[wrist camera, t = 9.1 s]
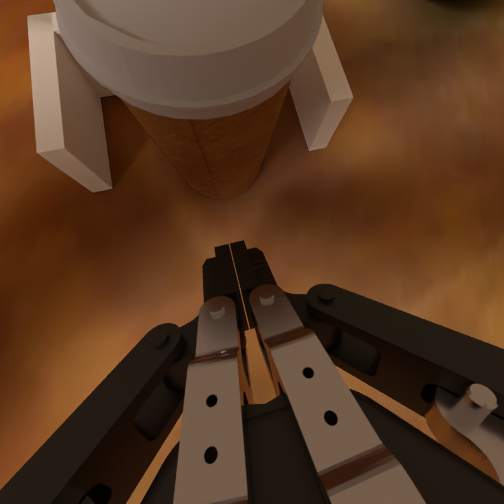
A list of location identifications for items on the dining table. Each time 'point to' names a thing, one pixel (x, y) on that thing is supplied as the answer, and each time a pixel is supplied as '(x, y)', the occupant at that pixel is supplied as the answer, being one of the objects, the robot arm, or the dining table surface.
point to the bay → (89, 92)
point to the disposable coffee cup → (197, 74)
